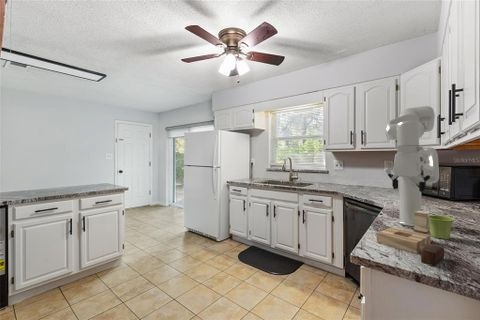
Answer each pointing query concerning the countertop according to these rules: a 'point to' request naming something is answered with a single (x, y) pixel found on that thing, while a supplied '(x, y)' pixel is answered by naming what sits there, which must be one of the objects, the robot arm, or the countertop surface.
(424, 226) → the peg
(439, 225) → the plant pot
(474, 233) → the countertop surface
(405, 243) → the seat board
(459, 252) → the countertop surface
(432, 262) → the brick
